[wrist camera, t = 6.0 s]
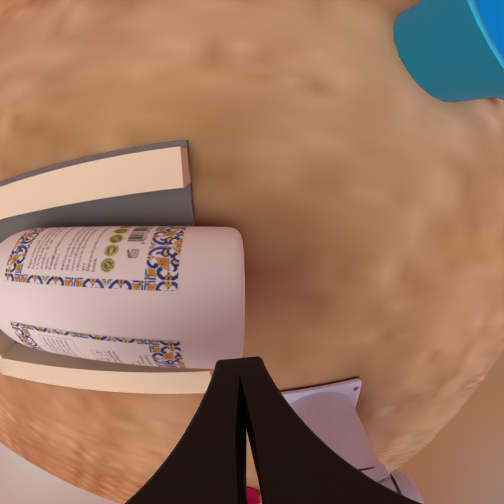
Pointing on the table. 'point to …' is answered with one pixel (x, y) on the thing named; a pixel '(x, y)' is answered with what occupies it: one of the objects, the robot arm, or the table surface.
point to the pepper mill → (252, 496)
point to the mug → (454, 47)
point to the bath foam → (126, 293)
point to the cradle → (93, 215)
